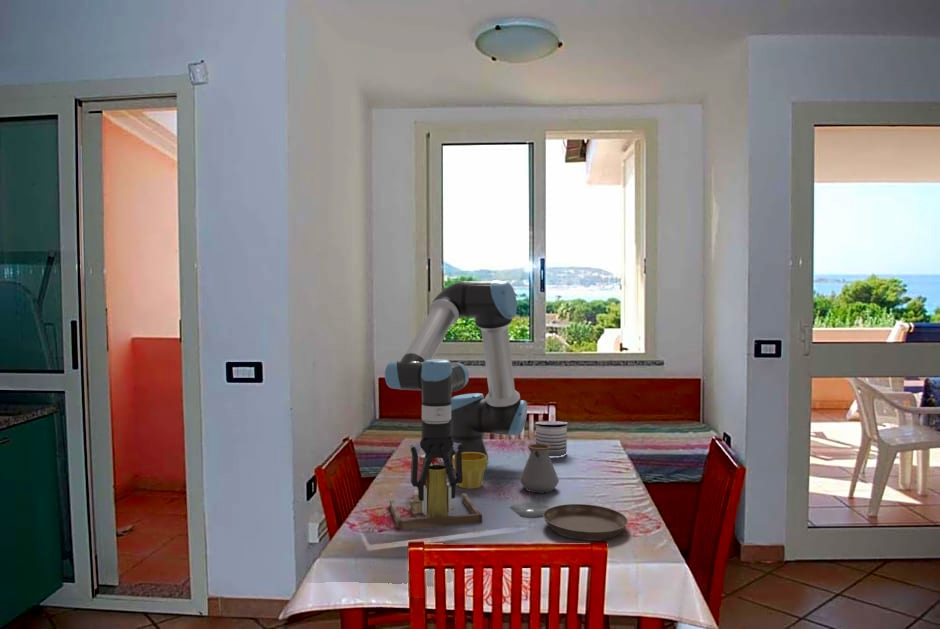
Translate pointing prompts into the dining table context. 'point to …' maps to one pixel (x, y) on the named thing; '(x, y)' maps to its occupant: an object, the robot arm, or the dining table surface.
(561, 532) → the plant saucer
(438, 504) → the vase
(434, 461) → the soda can
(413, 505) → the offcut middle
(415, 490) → the offcut top
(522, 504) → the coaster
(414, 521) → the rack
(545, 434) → the can
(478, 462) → the plant pot
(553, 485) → the coffee pot
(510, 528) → the dining table surface
